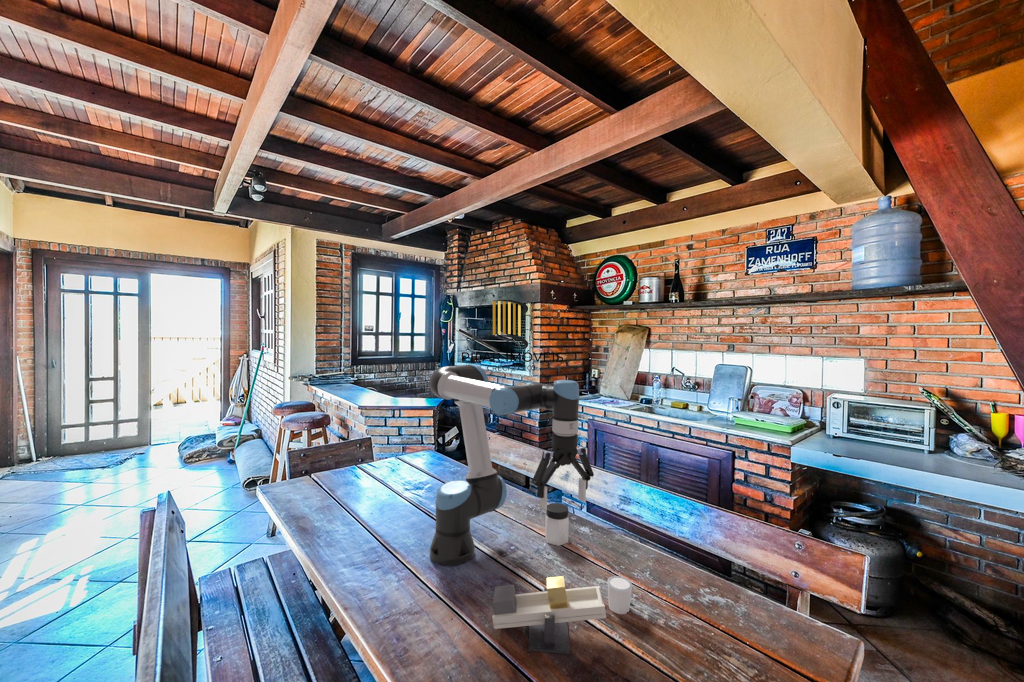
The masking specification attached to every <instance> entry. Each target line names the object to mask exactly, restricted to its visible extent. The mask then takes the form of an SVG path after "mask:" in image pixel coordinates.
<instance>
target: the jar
mask: <svg viewBox="0 0 1024 682" xmlns="http://www.w3.org/2000/svg"><path fill="white" fill-rule="evenodd" d="M569 512H570V511H569V507H568V506H567V505H565V504H563V503H559V502H557V503H556V502H555V503H553V502H552V503H549V504H547V510H545V522H544V523H545V525H544V527H545V528H544V529H545V530H544V535H545V536H544V538H545V540H546V543H547V544H550V545H553V546H557V547H559V546H562V545H565V544H567V543H569V528H570V527H569V525H570V524H569V521H570V517H569Z"/></svg>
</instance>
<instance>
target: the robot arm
mask: <svg viewBox="0 0 1024 682" xmlns="http://www.w3.org/2000/svg"><path fill="white" fill-rule="evenodd" d="M428 384H429V388H430V392H431V393H432V394H433V395H434V396H435V397H437V398H439V399H443V400H449V401H450V400H453V401H454V404H455V405H457V406H458V409H459V413H460V414H459V415H460V422H461V427H462V435H463V442H464V446H465V453H466V461H467V467H468V473H467V475H465V480H459V479H458V480H451V481H448V482H445V483H443V484H442V485H441V486H440V487H439V488H438V489H437V491H436V495H435V533H434V535H433V539H432V541H431V545H430V548H429V558H430V559H431V561H433V562H434V563H436V564H438V565H441V566H448V567H449V566H450V567H453V566H459V565H462V564H463V565H464V564H465V563H467V562H469V561H470V560H472V558H474V556H475V551H476V550H475V549H476V547H475V546H476V545H475V542H474V539H473V536H472V532H471V520H472V519H475V518H477V517H480V516H482V515H485V514H488V513H492V512H495V511H496V510H497V509H499V508H501V507H503V505H504V504H505V502H506V499H507V495H508V489H507V484H506V482H505V481H504V478H503V477H502V476H501V475H498V471H497V470H496V469H495V468H494V467H493V465H492V464H493V463H492V459H491V453H490V452H491V451H490V446H489V445H490V444H489V440H488V434H487V427H486V423H485V422H486V421H485V415H484V411H483V407H485V408H489V409H491V410H492V411H493V412H494V414H496V415H499V416H500V415H505V416H507V415H511V414H516V413H521V412H525V411H531V410H537V409H543V410H548V411H552V429H551V431H552V434H551V435H552V436H551V446H552V450H551V451H547V450H545V449H544V450H542V453H541V459H540V461H539V464H538V466H537V468H536V471H535V473H534V476H533V478H532V481H531V483H532V484H533V485H534V486H536V487H537V496H538V498H539V507H540V508H541V509H543V510H544V511H546V510H547V505H548V486H547V484H548V482H549V481H550V480H551V478H552V476H553V474H554V473H555V472H556V471H557V469H559V468H560V467H562V466H566V465H567V466H570V465H572V466H573V467H574V469H575V470H576V471H577V473H578V474H579V475H580V477H579V478H578V493H577V494H578V495H577V496H578V497H577V498H578V500H580V501H581V502H582V503H585V502H586V501H587V500H586V498H587V497H586V495H587V490H588V488H589V481H591V477H594V475H595V473H594V471H593V468H592V466H591V464H590V461H589V458H588V456H587V449H586V448H585V447H583V446H581V445H579V446H578V441H579V435H578V432H579V405H580V385H579V383H578V382H577V381H575V380H571V379H570V380H569V379H558V380H557V379H556V380H555V381H554V382H553V384H552V385H551V384H546V383H540V382H532V381H531V382H527V383H526V384H525V385H517V386H509V385H503V384H500V383H494V382H489V377H488V374H487V372H486V370H485V369H484V368H482V367H481V366H480V365H477V364H463V365H449V366H448V365H446V366H443V367H442V366H441V367H439V368H437V369H436V370H435V371H434V372H432V374H431V375H430V379H429V383H428ZM577 455H578V457H579V459H580V462H581V464H582V465H581V464H580V463H579V461H578V459H577V458H576V457H577Z"/></svg>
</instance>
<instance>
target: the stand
mask: <svg viewBox="0 0 1024 682" xmlns="http://www.w3.org/2000/svg"><path fill="white" fill-rule="evenodd" d="M544 591H547V587H544V588H543V592H544ZM568 624H569V623H568V622H561V623H555V615H545V624H541V625H531V626H528V652H537V653H539V652H541V653H552V654H563V655H564V654H566V655H567V654H568V655H570V654H571V647H570V645H571V644H570V636H569V626H568Z"/></svg>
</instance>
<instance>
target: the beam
mask: <svg viewBox="0 0 1024 682" xmlns="http://www.w3.org/2000/svg"><path fill="white" fill-rule="evenodd" d="M601 589H602V588H601V586H600V585H595V586H586V587H585V586H584V587H574V588H566V595H567V602H568V608H559V609H550V606H549V599H548V592H547V591H544V590H543V591H537V592H526V593H517V594H516V588H515V584H508V585H507V584H506V585H498V586H495V587H494V593H493V598H492V599H493V600H492V607H493V612H494V613H493V614H492V617H491V618H492V624H493V625H492V626H493V629H494V630H497V629H499V630H500V629H507V628H509V629H510V628H518V627H527V626H528V627H529V626H531V625H541V624H545V615H555V623H561V622H567V623H570V622H571V623H572V622H579V621H591V620H600V619H607V612H606V606H605V604H604V600H603V595H602V590H601Z"/></svg>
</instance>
